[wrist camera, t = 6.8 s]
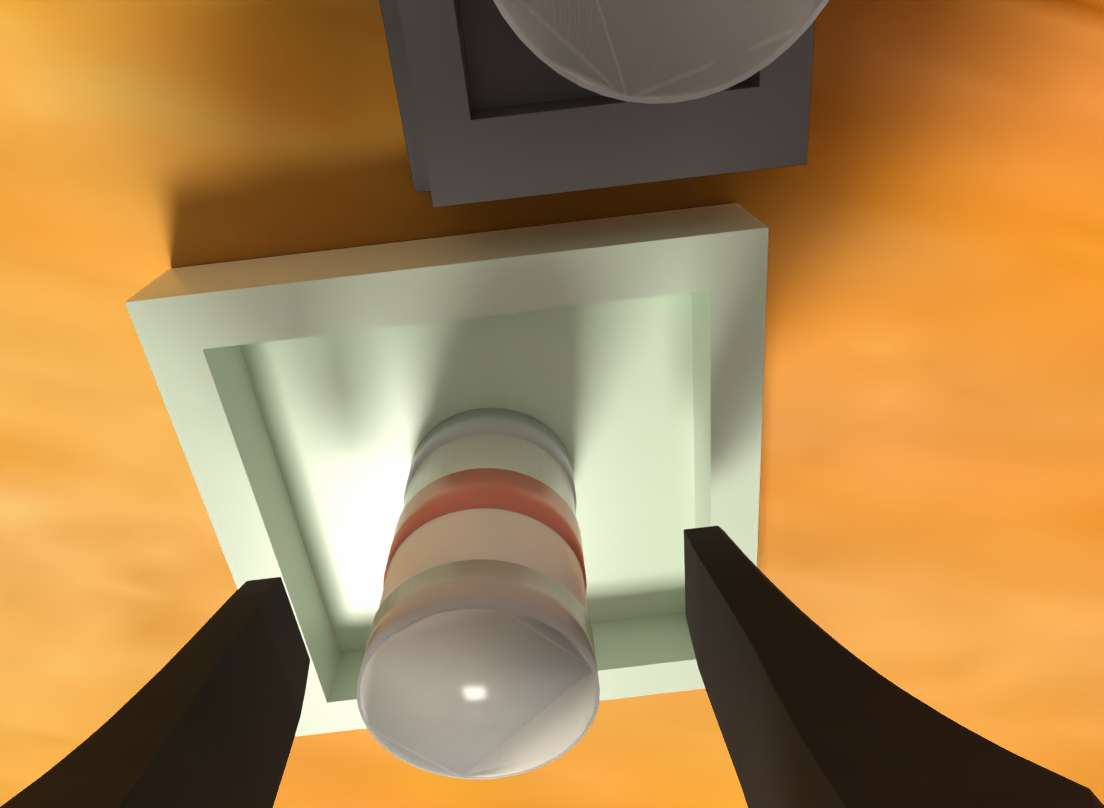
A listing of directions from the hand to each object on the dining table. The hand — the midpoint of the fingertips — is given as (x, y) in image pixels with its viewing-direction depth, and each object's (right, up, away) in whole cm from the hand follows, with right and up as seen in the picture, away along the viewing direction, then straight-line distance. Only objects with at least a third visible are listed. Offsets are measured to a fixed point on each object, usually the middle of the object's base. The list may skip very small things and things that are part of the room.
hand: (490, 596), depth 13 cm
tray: (0, +2, +4) cm, 4 cm away
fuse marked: (0, +2, +3) cm, 4 cm away
